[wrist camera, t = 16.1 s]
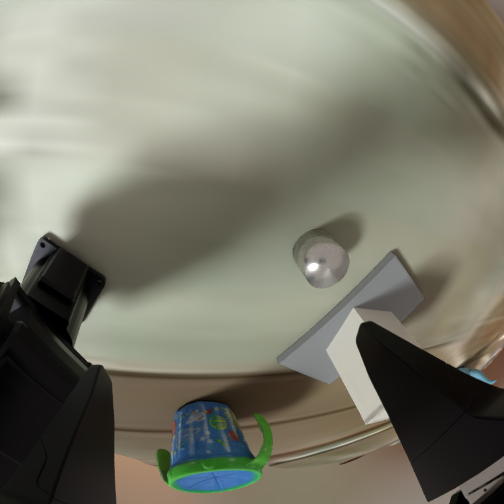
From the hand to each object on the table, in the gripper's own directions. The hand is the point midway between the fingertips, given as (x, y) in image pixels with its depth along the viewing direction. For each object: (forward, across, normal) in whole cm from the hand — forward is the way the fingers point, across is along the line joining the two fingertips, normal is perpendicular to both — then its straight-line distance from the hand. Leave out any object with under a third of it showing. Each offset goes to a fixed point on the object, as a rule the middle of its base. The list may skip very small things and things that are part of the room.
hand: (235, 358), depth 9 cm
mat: (+13, -15, +15) cm, 25 cm away
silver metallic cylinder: (+13, -8, +4) cm, 16 cm away
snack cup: (+13, +4, +26) cm, 30 cm away
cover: (+12, -15, +15) cm, 24 cm away
